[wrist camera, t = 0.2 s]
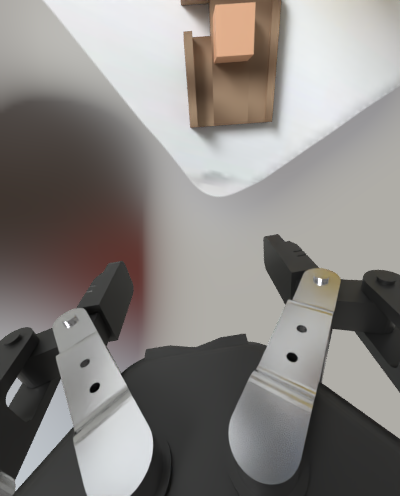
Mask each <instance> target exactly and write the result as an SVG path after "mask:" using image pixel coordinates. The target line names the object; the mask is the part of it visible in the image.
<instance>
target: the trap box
mask: <svg viewBox="0 0 400 496" xmlns="http://www.w3.org/2000/svg"><path fill="white" fill-rule="evenodd" d="M250 2H256V4H255V31H254V54H253V56H252V57H251V58H250V59H249V60H248V61H242V62H228V63H214V45H213V13H214V9H215V5H220V4H235V3H250ZM208 3H209V19H210V36H205V37H192V31H187V32H184V49H185V62H186V76H187V89H188V102H189V115H190V128H193V127H207V126H220V125H233V124H247V123H260V122H272V116H273V103H274V90H275V77H276V64H277V51H278V38H279V25H280V12H281V0H181V5H193V4H208Z"/></svg>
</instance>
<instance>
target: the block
mask: <svg viewBox="0 0 400 496" xmlns="http://www.w3.org/2000/svg"><path fill="white" fill-rule="evenodd" d="M255 4H256V2H250V3H235V4H220V5H215V9H214V13H213V45H214V63H228V62H242V61H248V60H249V59H250V58H251V57H252V56H253V54H254V31H255Z"/></svg>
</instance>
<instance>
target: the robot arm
mask: <svg viewBox="0 0 400 496" xmlns="http://www.w3.org/2000/svg"><path fill="white" fill-rule="evenodd" d="M263 241H264V263H265V267H266V270H267V272H268V274H269V276H270V278H271V279H272V281H273V283H274V285H275V286H276V289H277V290H278V292H279V294H280V296H281V297H282V299H283V301H284V303H285V307H284V309H283V312H282V314H281V316H280V318H279V321H278V323H277V325H276V327H275V329H274V332H273V334H272V336H271V339H270V341H269V343H268V345H267V346H266V345H263V344H260V343H255V342H248V341H247V338H246V334H239V335H233V336H227V337H221V338H218V339H216V340H213V341H211V342H208V343H206V344H203V345H201V346H198V347H182V346H164V347H158V348H152V349H147V350H146V353H145V358H144V359H142V360H140V361H138V362H136V363H134V364H133V365H131V366H130V367H128V368H127V369H126V370H125V371H124V372H122V373H121V372H120V370H119V368H118V366H117V365H116V363H115V361H114V359H113V357H112V356H111V354H110V352H109V350H108V348H107V347H106V346H107V343H108V342H110V341H116V340H118V337H119V334H120V332H121V329H122V325H123V323H124V320H125V316H126V313H127V310H128V307H129V304H130V301H131V298H132V295H133V283H132V281H131V278H130V276H129V273H128V271H127V268H126V266H125V264H124V262H123V261H120V262H115V263H109V264H108V265H107V267H106V269H105V271H104V272H103V273H101V274H100V275H99V276H98V277H96V278H95V279H94V280H93V282H92V283H91V285H90V287H89V288H88V290H87V292H86V293H85V295H84V296H83V298H82V300H81V301H80V303H79V305H78V306H77V308H76V309H73V310H70V311H68V312H66V313H64V314H63V315H61V316H60V317H59V318H58V319H57V320H56V321H55V323H54V325H53V328H51V329H49V330H46V331H43V332H41V333H38V334H35V333H34V331H33V330H32V329H31V328H28V327H26V328H21V329H18V330H16V331H14V332H12V333H10V334H8V335H7V336H5V337H4V338H3V339H2V340H1V341H0V496H400V439H399V438H398V437H396V436H395V435H393V434H392V433H391V432H389V431H388V430H387V429H385V428H384V427H382V426H381V425H379V424H378V423H377V422H375V421H374V420H373V419H371V418H370V417H368V416H367V415H365V414H364V413H363V412H361V411H360V410H359V409H357V408H356V407H354V406H353V405H352V404H350V403H349V402H347V401H346V400H345V399H343V398H342V397H340V396H339V395H338V394H336V393H335V392H333V391H332V390H331V389H329V388H328V387H327V386H325V385H324V384H322V379H323V373H324V369H325V363H326V359H327V353H328V349H329V344H330V339H331V334H332V329H340V330H349V331H355V332H356V334H357V335H358V337H359V338H360V339H361V341H362V342H363V343H364V345H365V346H366V347H367V349H368V350H369V351H370V353H371V354H372V356H373V357H374V358H375V360H376V361H377V362H378V363H379V365H380V366H381V368H382V369H383V370H384V371H385V373H386V374H387V376H388V377H389V379H390V380H391V381H392V383H393V384H394V385H395V387H396V388H397V389H398V391H399V392H400V275H399V274H396V273H393V272H389V271H385V270H371V271H368V272H366V273H365V274H364V276H363V280H343V279H340V277H339V276H338V275H337V274H336V273H334V272H333V271H330V270H327V269H322V268H319V267H318V266H317V265H316V264H315V263H314V262H313V261H312V260H311V259H310V258H309V257H308V256H307V255H306V254H305V252H304V251H302V249H301V248H300V247H299V246H298V245H297V244H295V243H292V242H290V241H287V242H285V241H284V240H283V239H282V238H281V237H280V236H279V235H278V234H276V235H270V236H265V237H264V240H263ZM16 378H18V379H19V380H20V381H21V382H22V385H21V387H20V389H19V390H18V392H17V393H16V395H15V397H14V399H13V400H12V402H11V403H10V405H9V407H7V405H6V395H7V392H8V390H9V389H10V387H11V385H12V384H13V382H14V381H15V379H16ZM60 379H61V380H62V384H63V388H64V391H65V396H66V400H67V403H68V407H69V411H70V415H71V419H72V423H73V428H72V429H71V430H70V431H69V432H68V433H67V435H66V436H65V437H64V438H63V439H62V440H61V441H60V442H59V444H58V445H57V446H56V447H55V448H54V449H53V450H52V451H51V453H50V454H49V455H48V456H47V457H46V458H45V459H44V460H43V461H42V463H41V464H40V465H39V466H38V467H37V468H36V469H35V470H34V471H33V473H32V474H31V475H30V476H29V477H28V478H27V479H26V480H25V482H24V483H23V484H22V485H21V486H20V487H19V488H18V490H17V491H16V492H15V479H16V477H17V475H18V472H19V470H20V468H21V466H22V464H23V461H24V459H25V457H26V455H27V452H28V450H29V448H30V445H31V444H32V441H33V439H34V437H35V434H36V432H37V430H38V428H39V426H40V424H41V421H42V419H43V417H44V415H45V412H46V410H47V408H48V406H49V404H50V401H51V399H52V397H53V395H54V392H55V390H56V388H57V386H58V384H59V381H60Z"/></svg>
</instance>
